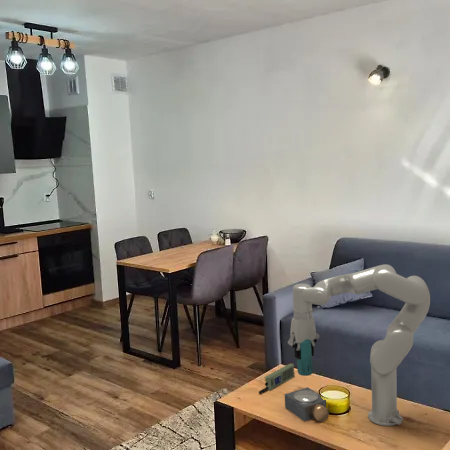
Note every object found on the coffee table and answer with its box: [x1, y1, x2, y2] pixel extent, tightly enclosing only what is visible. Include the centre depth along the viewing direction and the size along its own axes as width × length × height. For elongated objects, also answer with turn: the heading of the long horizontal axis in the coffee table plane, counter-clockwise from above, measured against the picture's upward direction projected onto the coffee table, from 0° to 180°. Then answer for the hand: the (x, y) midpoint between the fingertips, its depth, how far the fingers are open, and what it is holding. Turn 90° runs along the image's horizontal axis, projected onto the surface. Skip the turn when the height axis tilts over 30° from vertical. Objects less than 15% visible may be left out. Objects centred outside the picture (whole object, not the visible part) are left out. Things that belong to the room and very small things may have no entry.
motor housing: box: [284, 387, 330, 423], centre depth 211 cm, size 18×12×6 cm, turn 27°
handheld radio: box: [258, 363, 295, 395], centre depth 238 cm, size 7×3×25 cm
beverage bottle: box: [296, 339, 314, 377], centre depth 210 cm, size 6×7×20 cm
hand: (304, 356), depth 210 cm, fingers closed on beverage bottle, 5 cm apart
